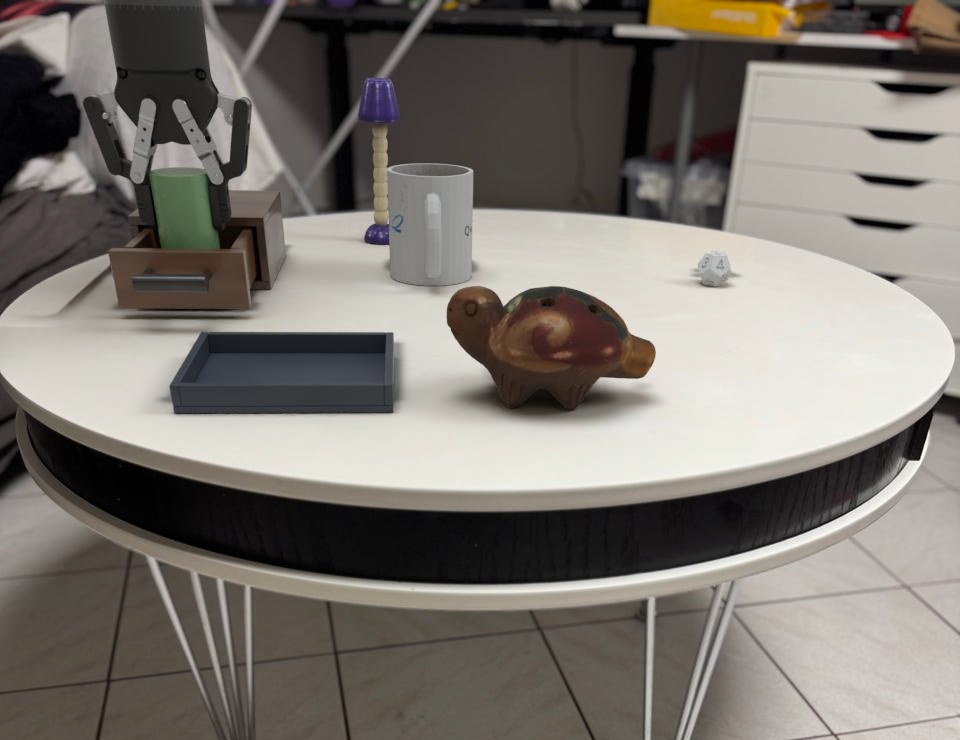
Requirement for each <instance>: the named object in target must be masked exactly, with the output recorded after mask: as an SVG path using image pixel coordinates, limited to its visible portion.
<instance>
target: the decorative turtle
mask: <svg viewBox="0 0 960 740" xmlns="http://www.w3.org/2000/svg"><path fill="white" fill-rule="evenodd" d="M446 325H447V326H448V327H449V328H450V332H451V334H452V336H453V338H454V339H455V341H456V342H457V343H458V344H459V346H460V347H461V348H462V349H463V350H464V351H465V353H466V354H468V355H469V356H470V357H471V358H472V359H474V360H475V361H476V362H478V363H479V364H480V365H482V366H483V367H484V368H485V369H486V370H487V371H488V373H489V374H490V377H491V379H492V381H493V383H494V385H495V387H496V390H497V393H498V395H499V398H500V400H501V402H502V403H503V404H504V405H505V406H507V408H510V409H512V408H513V409H515V408H518V407H520V406H521V405H522V404H523V403H524V402H526V401H527V400H528V399H529V398H531V396H532V395H534V394H535V393H536V392H537V391H539V390H545V391H547V392H548V393H550V394H551V396H553V397H554V399H555V400H556V401H557V402H558V403H559V404H560V405H561V406H562V407H563V408H564V409H567V410H569V411H572V410H575V409H577V408H578V407H580V406H581V405H582V404H583V402H584V401H585V399H586V397H587V396H588V394H589V393H590V391H591V389H592V388H593V386H594V385H595V384H596V382H597V381H598V380H599V379H601V378H605V379H607V378H608V379H626V380H627V379H628V380H630V379H631V380H633V379H635V380H639V379H642V378H645V377H646V375H647V374H648V373H649V371H650V370H651V368H652V366H653V364H654V362H655V360H656V356H657V355H656V354H657V352H656V351H657V350H656V346H655V344H654V343H653V342H652V341H650V340H648V339H645V338H643V337H640V336H636V335H635V334H632V333H631V332H630V330H629V328H628V326H627V324H626V322H625V320H624V319H623V318H622V317H621V315H620V314H619V313H618V312H617V311H616V310H615V309H614V308H613V307H612V306H611V305H609V304H607V303H606V302H605V301H602V300H601V299H599V298H597V297H595V296H593V295H592V294H589V293H586V292H584V291H582V290H579V289H576V288H571V287H567V286H557V285H550V286H541V287H532V288H528V289H526V290H524V291H522V292H520V293H518V294H516V295H515V296H514V297H512V298H510V300H508V302H507V303H505V304H503V302H502V300H501V298H500V296H499V295H498V294H497V293H496V292H495V291H494V290H493V289H491V288H489V287H486V286H481V285H473V286H471V285H470V286H466V287H463V288H460V289H458V290H457V291H455V292H454V294H452V296H451V297H450V299H449V301H448V303H447V306H446Z"/></svg>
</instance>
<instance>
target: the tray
mask: <svg viewBox="0 0 960 740" xmlns="http://www.w3.org/2000/svg"><path fill="white" fill-rule="evenodd" d="M394 335H395V334H394V332H393V331H388V332H387V331H201V332H200V333H199V335H198V337H197V338H196V340H195V342H194V343H193V345H192V346H191V348H190V350H189V352H188V353H187V356H186V357H185V358H184V360H183V361H182V364H181V365H180V367H179V369H178V370H177V372H176V374H175V376H174V377H173V379H172V381H171V382H170V384H169V391H170V397H171V402H172V407H173V413H174V414H291V413H292V414H300V413H302V414H303V413H304V414H305V413H306V414H309V413H311V414H313V413H314V414H315V413H316V414H317V413H319V414H321V413H324V414H325V413H328V414H330V413H332V414H333V413H335V414H337V413H338V414H339V413H340V414H341V413H394V406H395V405H394V400H395V398H394V397H395V396H394V394H395V338H394V337H395V336H394Z"/></svg>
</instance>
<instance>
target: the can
mask: <svg viewBox="0 0 960 740" xmlns="http://www.w3.org/2000/svg"><path fill="white" fill-rule="evenodd" d="M149 178H150V184H151V190H152V196H153V202H154V208H155V214H156V220H157V226H158V232H159V238H160V244H161V249H220V244H219V236H218V230H215V228H214V222H213V214H212V207H211V200H210V192H209V185H210V184H211V180H210V179H209V177H208V175H207V173H206V170H205V168H200V167H186V166H182V167H181V166H179V167H178V166H177V167H174V166H173V167H162V168H156V169H153V170H152V169H151V171H150V172H149Z"/></svg>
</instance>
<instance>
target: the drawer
mask: <svg viewBox="0 0 960 740" xmlns="http://www.w3.org/2000/svg"><path fill="white" fill-rule="evenodd" d="M218 236H219V244H220V249H161V244H160V238H159V232H158V230H149V228H148V226H147V227H146V228H145V229H143V230H142V231H141V232H140V233H139V234H138V235H137V236H136V237H135V238H134V239H132V238H131V240H130V241H129V242H128V243H127V244H126V245H125V246H123V247H112V248H110V249H109V250H108V251H107V255H108V258H109V263H110V269H111V273H112V278H113V283H114V288H115V293H116V298H117V303H118V308H119V309H142V310H143V309H154V310H155V309H156V310H157V309H158V310H159V309H161V310H164V309H166V310H167V309H169V310H170V309H171V310H172V309H175V310H176V309H178V310H179V309H180V310H181V309H182V310H186V309H187V310H190V309H191V310H217V309H218V310H250V309H251V307H252V297H251V289H250V287H251V285H252V283H253V281H254V279H255V278H256V276H257V274H258V272H259V270H260V262H259V252H258V243H257V234H256V226H226V227H225V228H224V230H218Z"/></svg>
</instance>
